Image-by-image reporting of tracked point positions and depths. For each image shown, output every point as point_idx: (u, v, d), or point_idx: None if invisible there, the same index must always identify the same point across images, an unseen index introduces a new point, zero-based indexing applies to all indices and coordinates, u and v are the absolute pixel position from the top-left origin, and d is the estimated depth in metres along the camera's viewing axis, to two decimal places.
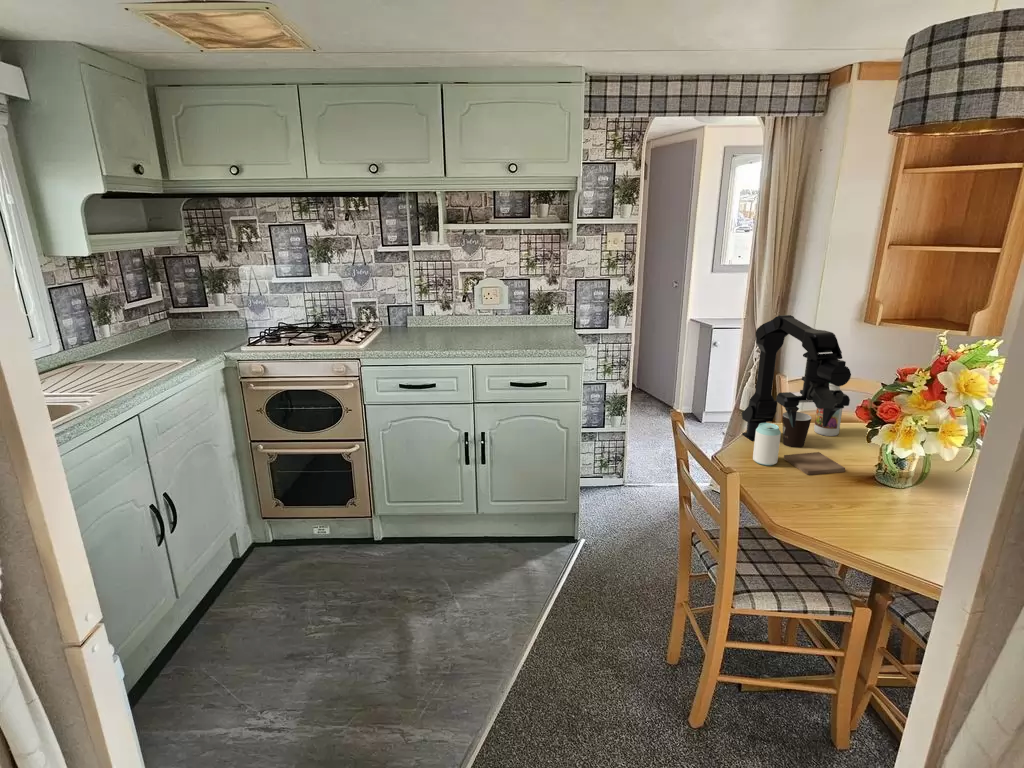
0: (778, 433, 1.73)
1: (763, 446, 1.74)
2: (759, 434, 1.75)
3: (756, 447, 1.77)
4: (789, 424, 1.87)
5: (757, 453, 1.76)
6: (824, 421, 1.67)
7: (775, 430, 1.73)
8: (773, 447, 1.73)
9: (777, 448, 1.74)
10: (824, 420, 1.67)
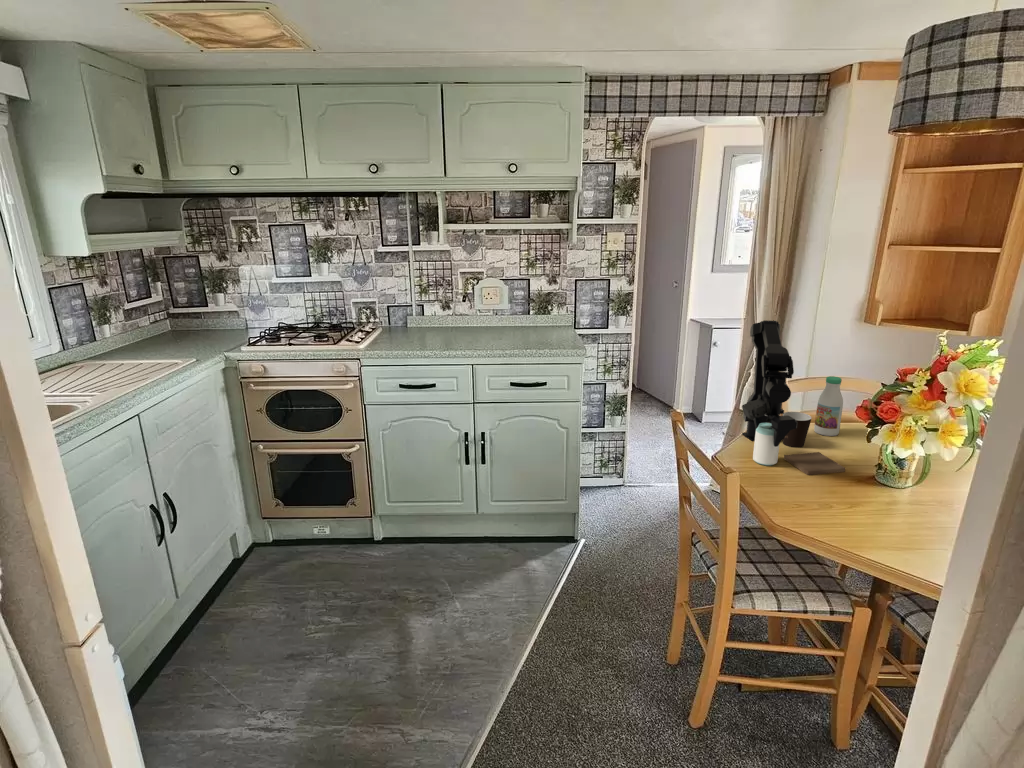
0: None
1: (763, 446, 1.74)
2: (759, 434, 1.75)
3: (756, 447, 1.77)
4: None
5: (757, 453, 1.76)
6: None
7: None
8: (773, 447, 1.73)
9: (777, 448, 1.74)
10: None
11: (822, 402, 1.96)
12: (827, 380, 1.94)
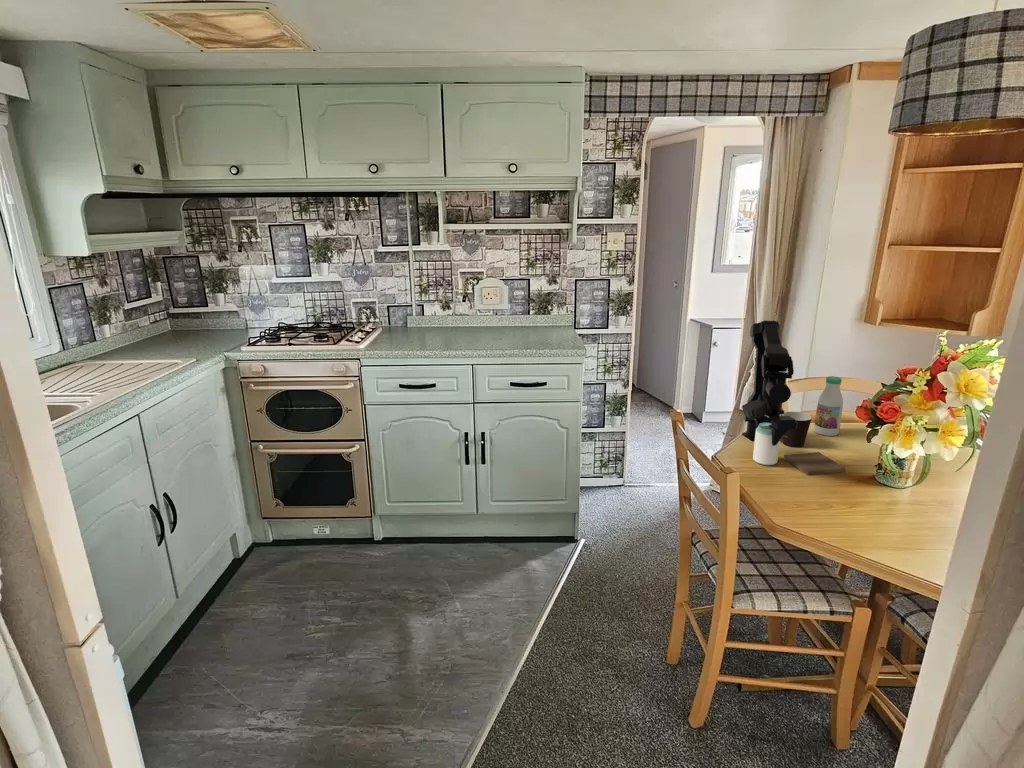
0: None
1: (763, 446, 1.74)
2: (759, 434, 1.75)
3: (756, 447, 1.77)
4: None
5: (758, 453, 1.76)
6: None
7: None
8: (773, 447, 1.73)
9: (777, 448, 1.74)
10: None
11: (822, 402, 1.96)
12: (827, 380, 1.94)
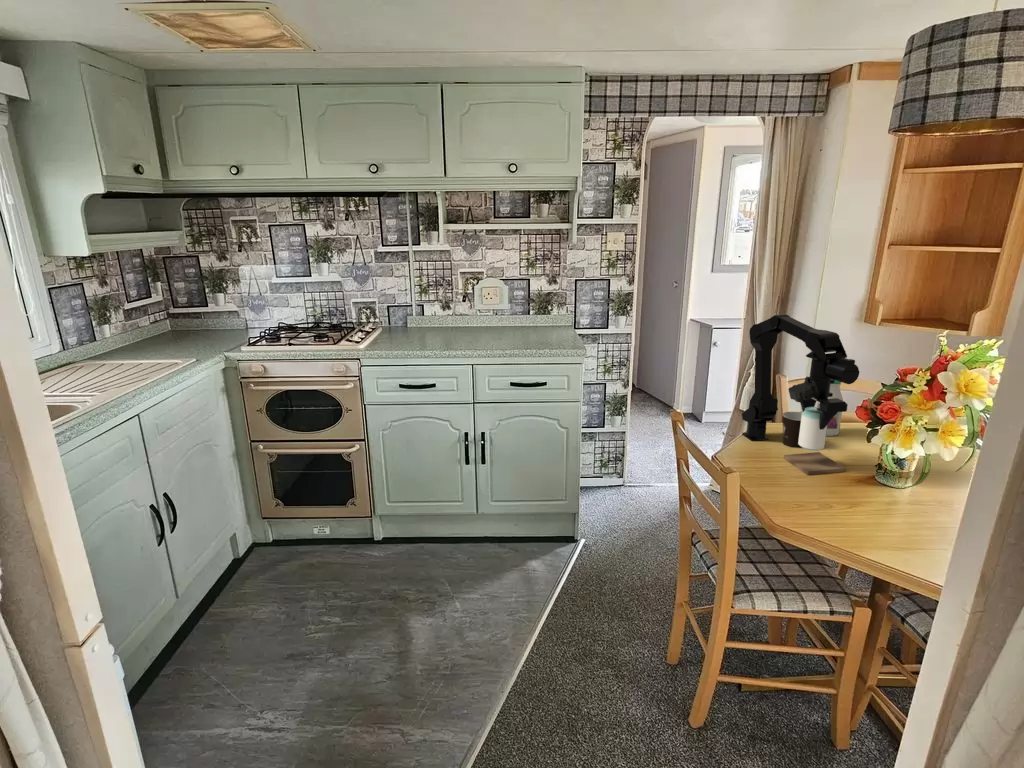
0: None
1: (809, 430, 1.70)
2: (805, 418, 1.70)
3: (802, 431, 1.72)
4: (789, 424, 1.87)
5: (804, 438, 1.71)
6: None
7: None
8: (820, 431, 1.69)
9: (824, 433, 1.70)
10: None
11: None
12: None
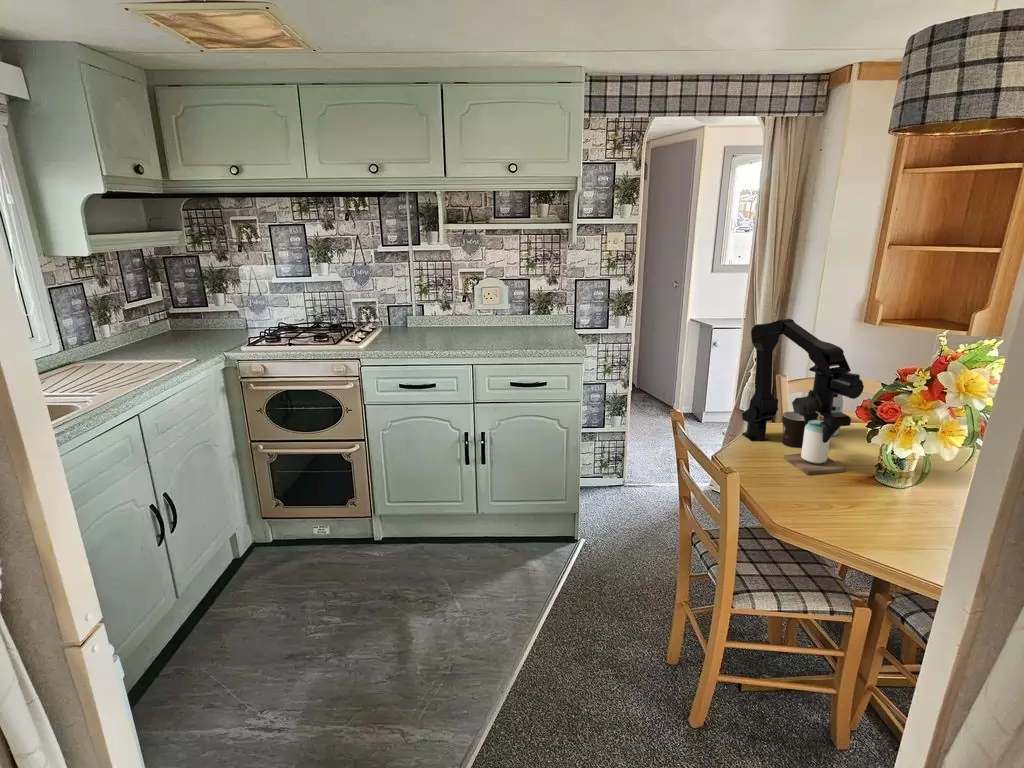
0: None
1: (813, 444, 1.71)
2: (808, 432, 1.71)
3: (805, 444, 1.73)
4: (789, 424, 1.87)
5: (807, 451, 1.73)
6: None
7: None
8: (823, 445, 1.70)
9: (827, 446, 1.71)
10: None
11: None
12: None
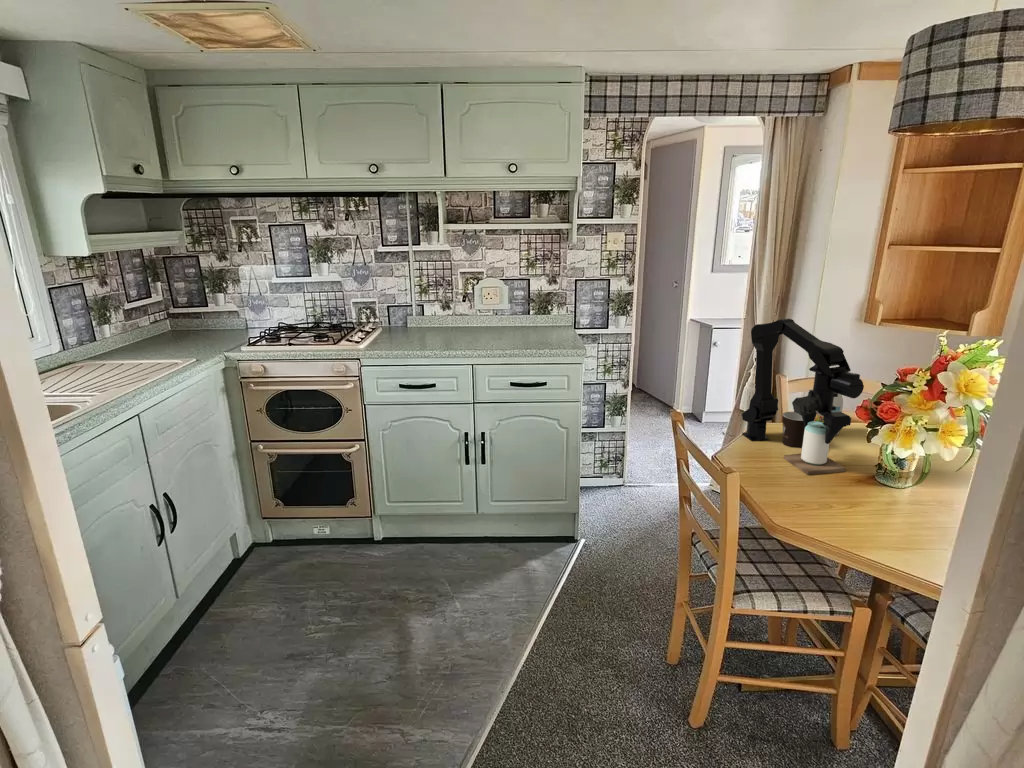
0: None
1: (812, 445, 1.71)
2: (808, 433, 1.71)
3: (805, 446, 1.73)
4: (789, 424, 1.87)
5: (807, 453, 1.73)
6: None
7: None
8: (823, 446, 1.70)
9: (827, 447, 1.71)
10: None
11: None
12: None
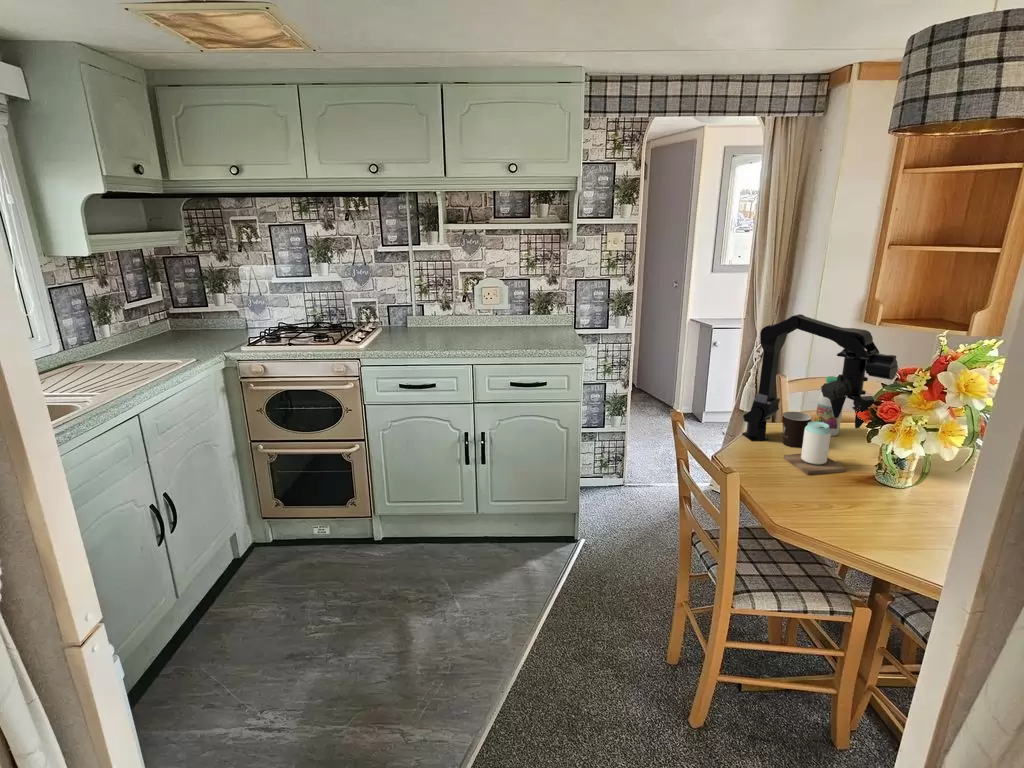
0: (829, 432, 1.70)
1: (812, 445, 1.71)
2: (808, 433, 1.71)
3: (805, 446, 1.73)
4: (789, 424, 1.87)
5: (807, 453, 1.73)
6: None
7: (826, 429, 1.69)
8: (823, 446, 1.70)
9: (827, 447, 1.71)
10: None
11: (822, 402, 1.96)
12: (827, 380, 1.94)
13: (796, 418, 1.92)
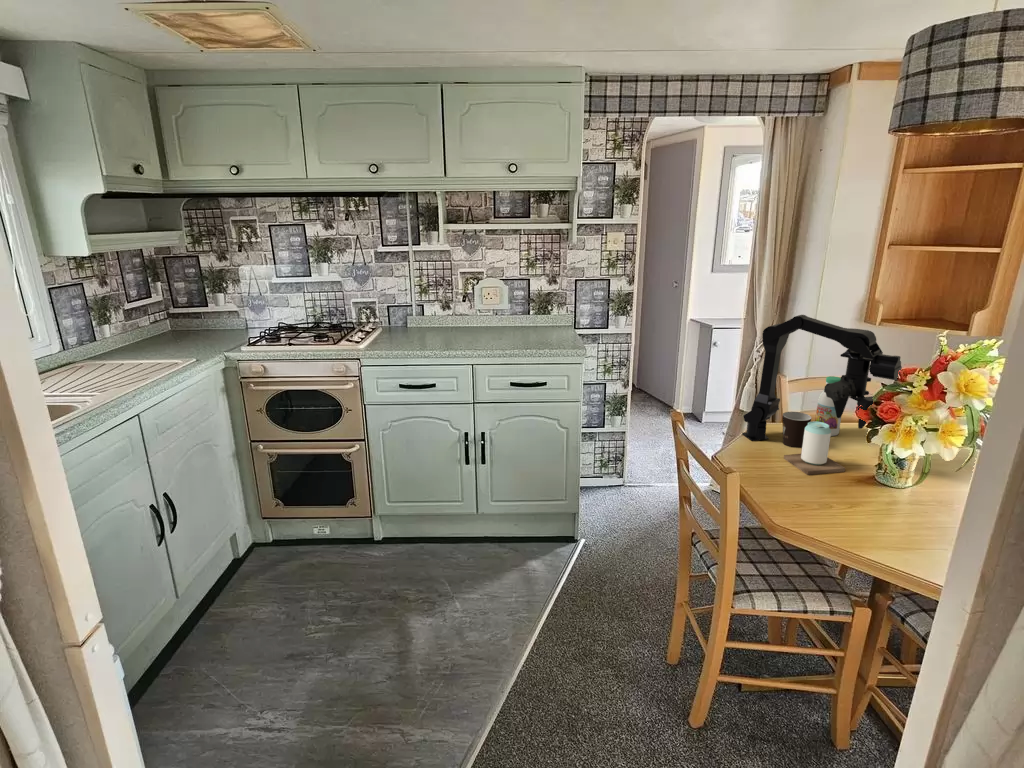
0: (829, 432, 1.70)
1: (812, 445, 1.71)
2: (808, 433, 1.71)
3: (805, 446, 1.73)
4: (789, 424, 1.87)
5: (807, 453, 1.73)
6: None
7: (826, 429, 1.69)
8: (823, 446, 1.70)
9: (827, 447, 1.71)
10: None
11: (822, 402, 1.96)
12: (827, 380, 1.94)
13: (796, 418, 1.92)
